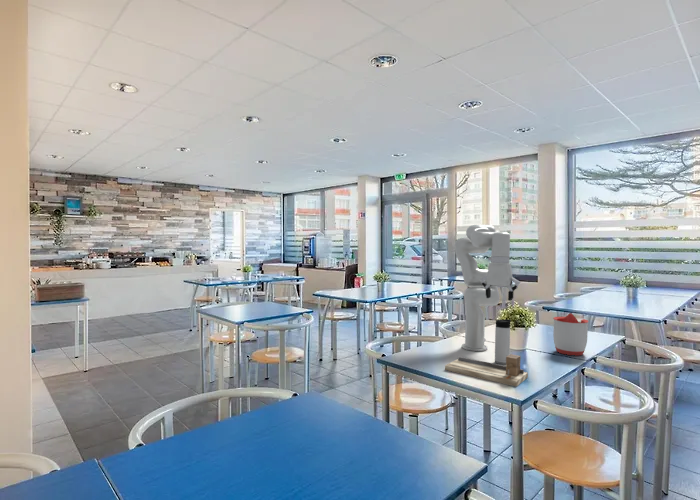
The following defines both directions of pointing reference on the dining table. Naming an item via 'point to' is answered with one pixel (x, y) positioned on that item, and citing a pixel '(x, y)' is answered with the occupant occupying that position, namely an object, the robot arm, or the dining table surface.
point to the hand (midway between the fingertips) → (499, 298)
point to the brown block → (513, 365)
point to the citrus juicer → (570, 335)
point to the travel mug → (502, 341)
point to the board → (485, 371)
